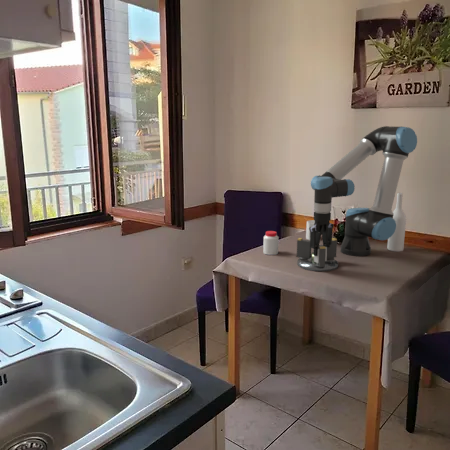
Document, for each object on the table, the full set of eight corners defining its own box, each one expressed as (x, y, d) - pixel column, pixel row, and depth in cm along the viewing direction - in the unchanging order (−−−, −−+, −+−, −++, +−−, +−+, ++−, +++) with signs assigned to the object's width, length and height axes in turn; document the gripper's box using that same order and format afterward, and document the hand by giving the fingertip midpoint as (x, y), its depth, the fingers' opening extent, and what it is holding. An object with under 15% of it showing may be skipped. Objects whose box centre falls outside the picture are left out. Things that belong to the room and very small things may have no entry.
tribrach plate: (333, 258, 226) (334, 245, 224) (342, 271, 207) (342, 257, 206) (295, 258, 226) (295, 245, 225) (300, 271, 208) (300, 256, 206)
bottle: (406, 249, 240) (411, 193, 232) (396, 252, 235) (401, 195, 228) (393, 246, 246) (398, 191, 239) (383, 248, 242) (388, 192, 235)
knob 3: (327, 261, 216) (328, 241, 214) (321, 258, 220) (321, 239, 218) (337, 259, 219) (338, 239, 217) (331, 256, 223) (332, 237, 221)
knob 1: (311, 258, 220) (312, 239, 218) (308, 261, 217) (309, 241, 214) (299, 256, 224) (300, 237, 221) (295, 258, 220) (296, 239, 218)
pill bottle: (277, 255, 232) (278, 234, 229) (262, 254, 233) (262, 233, 231) (278, 251, 239) (279, 230, 236) (264, 250, 241) (264, 230, 238)
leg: (313, 263, 213) (314, 243, 210) (323, 263, 213) (324, 243, 211) (317, 268, 206) (318, 247, 204) (326, 268, 207) (327, 247, 204)
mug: (307, 240, 258) (307, 223, 256) (304, 236, 267) (305, 220, 264) (328, 240, 258) (329, 223, 256) (325, 236, 266) (326, 220, 264)
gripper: (329, 207, 211) (327, 255, 217) (302, 212, 202) (300, 262, 208) (341, 210, 205) (339, 259, 211) (314, 215, 196) (312, 267, 202)
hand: (320, 261), depth 210 cm, fingers closed on leg, 4 cm apart
